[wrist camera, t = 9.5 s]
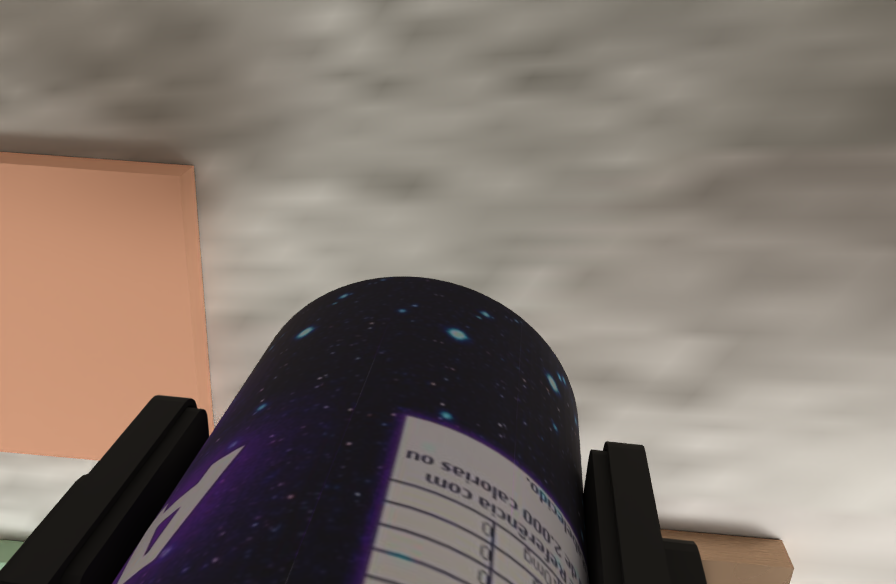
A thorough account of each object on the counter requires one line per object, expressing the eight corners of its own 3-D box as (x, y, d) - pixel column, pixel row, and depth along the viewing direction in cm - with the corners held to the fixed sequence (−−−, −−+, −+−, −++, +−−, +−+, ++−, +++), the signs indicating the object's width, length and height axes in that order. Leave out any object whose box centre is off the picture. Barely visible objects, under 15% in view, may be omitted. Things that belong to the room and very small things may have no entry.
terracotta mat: (-136, 141, 22) (-164, 151, 21) (193, 165, 22) (179, 176, 21) (-67, 425, 26) (-89, 443, 25) (215, 450, 25) (204, 469, 24)
